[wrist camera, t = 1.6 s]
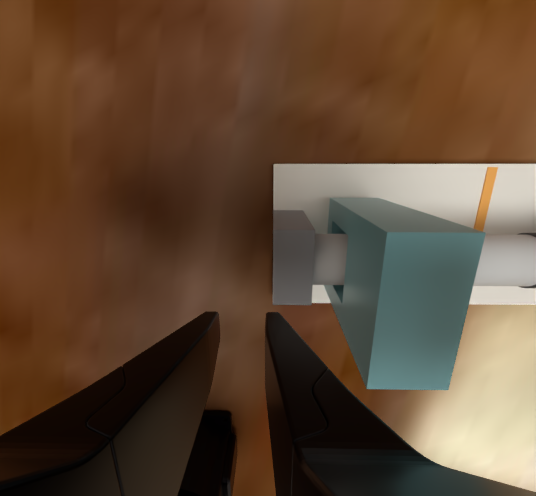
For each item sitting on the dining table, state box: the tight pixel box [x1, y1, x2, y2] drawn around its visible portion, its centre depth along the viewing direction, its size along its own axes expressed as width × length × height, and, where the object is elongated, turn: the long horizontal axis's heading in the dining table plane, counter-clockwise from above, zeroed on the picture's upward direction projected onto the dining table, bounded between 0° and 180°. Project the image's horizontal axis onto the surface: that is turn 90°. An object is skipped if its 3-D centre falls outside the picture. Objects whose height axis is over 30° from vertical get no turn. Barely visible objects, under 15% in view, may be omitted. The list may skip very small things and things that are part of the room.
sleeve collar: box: [324, 198, 486, 390], centre depth 14 cm, size 3×6×9 cm, turn 0°
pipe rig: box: [273, 164, 536, 305], centre depth 17 cm, size 20×10×7 cm, turn 90°
